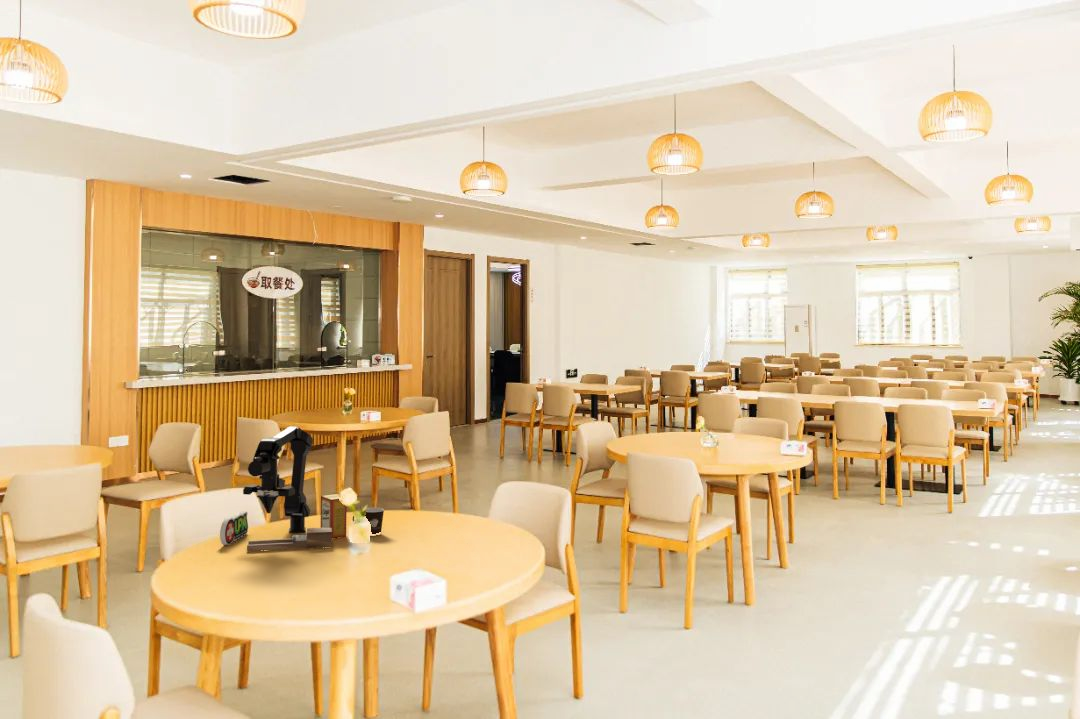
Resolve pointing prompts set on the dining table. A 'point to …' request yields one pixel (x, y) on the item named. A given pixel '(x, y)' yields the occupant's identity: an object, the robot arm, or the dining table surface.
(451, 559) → the dining table surface
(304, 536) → the grey rectangular block
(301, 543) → the housing
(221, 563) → the dining table surface
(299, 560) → the dining table surface
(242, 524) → the sign
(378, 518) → the coffee mug
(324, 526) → the baking soda box
